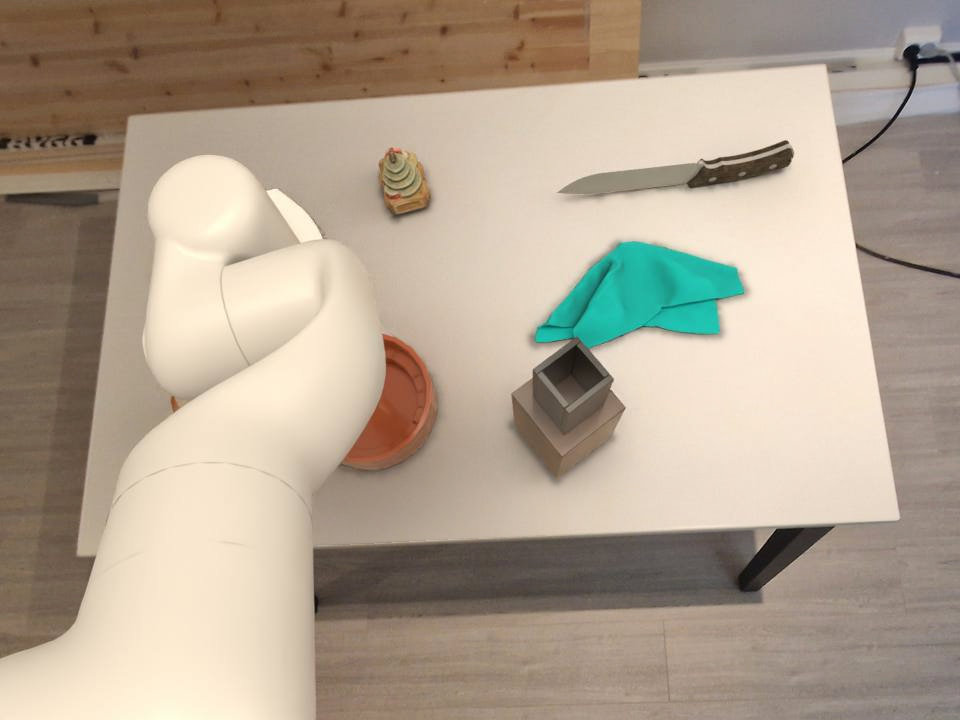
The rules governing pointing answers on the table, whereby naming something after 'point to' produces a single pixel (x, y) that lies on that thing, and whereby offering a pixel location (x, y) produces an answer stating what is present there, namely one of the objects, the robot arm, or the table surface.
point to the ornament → (403, 181)
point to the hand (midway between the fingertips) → (330, 353)
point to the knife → (688, 172)
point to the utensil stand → (567, 407)
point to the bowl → (397, 411)
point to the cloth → (642, 295)
